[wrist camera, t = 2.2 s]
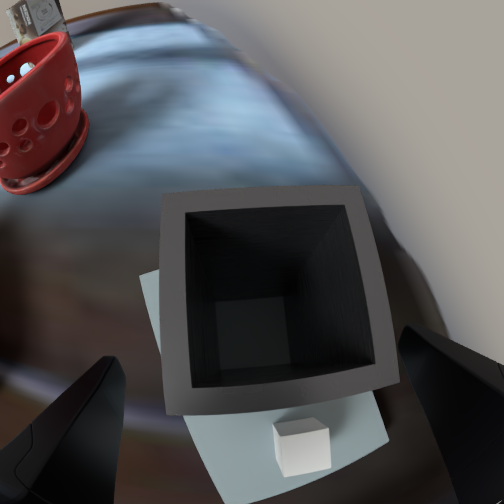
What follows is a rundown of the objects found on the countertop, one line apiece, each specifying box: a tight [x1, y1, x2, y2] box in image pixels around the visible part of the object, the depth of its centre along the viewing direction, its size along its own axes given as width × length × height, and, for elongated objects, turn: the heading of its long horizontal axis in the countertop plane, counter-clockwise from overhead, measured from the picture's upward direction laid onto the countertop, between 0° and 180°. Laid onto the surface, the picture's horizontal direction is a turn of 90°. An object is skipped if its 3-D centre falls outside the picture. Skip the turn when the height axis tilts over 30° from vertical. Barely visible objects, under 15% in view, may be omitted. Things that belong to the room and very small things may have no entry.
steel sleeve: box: [159, 185, 400, 416], centre depth 11 cm, size 5×5×10 cm
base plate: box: [139, 270, 389, 504], centre depth 14 cm, size 16×11×4 cm
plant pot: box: [0, 31, 89, 195], centre depth 17 cm, size 13×13×12 cm
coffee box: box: [6, 0, 73, 68], centre depth 24 cm, size 9×6×16 cm
